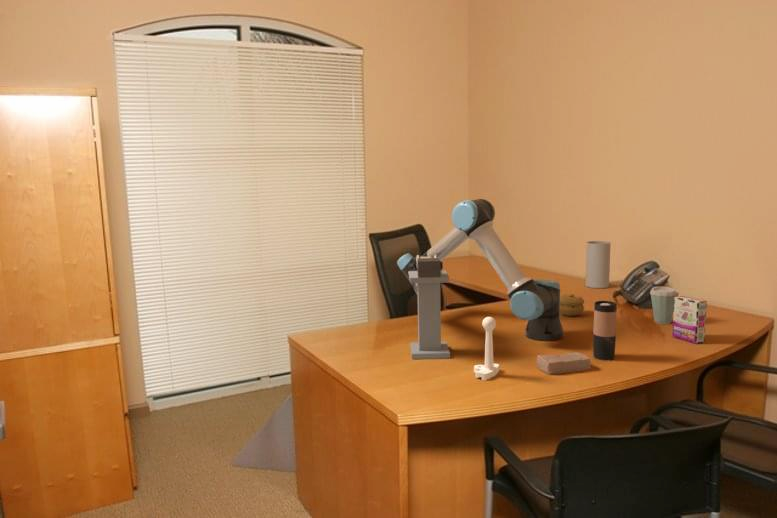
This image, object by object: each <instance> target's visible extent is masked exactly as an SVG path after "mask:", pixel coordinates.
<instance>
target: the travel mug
mask: <svg viewBox="0 0 777 518" xmlns="http://www.w3.org/2000/svg"><path fill="white" fill-rule="evenodd" d="M593 305H594V307H593V308H594V309H593V312H594V313H593V334H592V336H593V337H592V338H593V340H592V342H593V343H592V344H593V345H592V346H593V347H592V349H593V353H592V354H593V358H594V359H596V360H601V361H612V360H614V359H615V354H616V342H617V341H616V340H617V339H616V338H617V310H618V309H617V308H618V304H617V303H616V302H614V301H611V300H597V301H595V302H594V304H593Z"/></svg>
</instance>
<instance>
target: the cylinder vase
mask: <svg viewBox="0 0 777 518" xmlns="http://www.w3.org/2000/svg"><path fill="white" fill-rule="evenodd" d="M611 244H612V243H611V242H610V241H604V240H603V241H602V240H592V241H590V240H589V241H586V254H585V286H586V287H587V288H588V289H589V288H590V289H597V290H598V289H607V288H609V287H610V274H611V273H610V271H611V269H610V268H611Z"/></svg>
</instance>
